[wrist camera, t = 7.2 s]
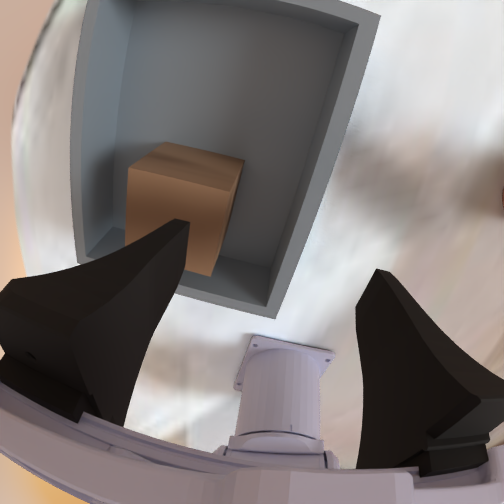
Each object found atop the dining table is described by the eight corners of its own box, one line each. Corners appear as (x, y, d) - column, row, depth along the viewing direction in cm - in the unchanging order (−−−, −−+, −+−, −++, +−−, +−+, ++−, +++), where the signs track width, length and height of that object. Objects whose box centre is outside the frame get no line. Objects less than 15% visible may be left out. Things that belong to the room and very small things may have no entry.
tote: (279, 271, 23) (275, 319, 19) (110, 226, 23) (77, 262, 19) (357, 28, 14) (380, 15, 9) (136, -8, 13) (93, -22, 9)
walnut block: (227, 230, 21) (210, 276, 17) (156, 211, 21) (124, 252, 16) (244, 160, 18) (229, 192, 14) (165, 141, 18) (128, 167, 14)
